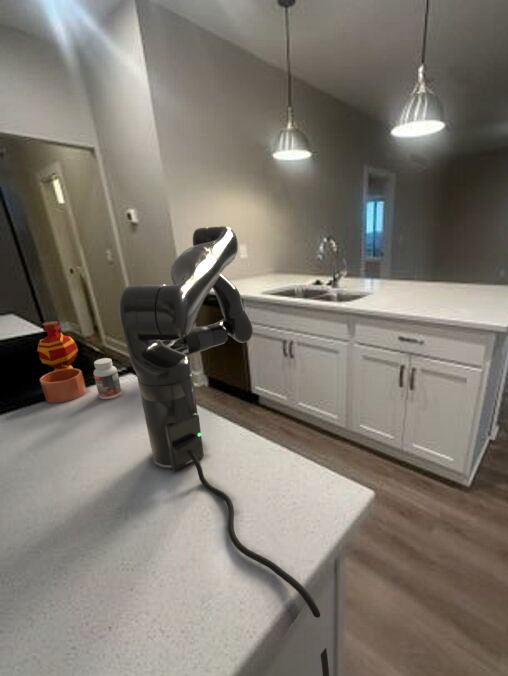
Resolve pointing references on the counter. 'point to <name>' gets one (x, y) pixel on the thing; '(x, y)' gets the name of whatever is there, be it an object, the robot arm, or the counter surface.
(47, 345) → the potion bottle
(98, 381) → the pill bottle
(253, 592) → the counter surface
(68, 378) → the pot
